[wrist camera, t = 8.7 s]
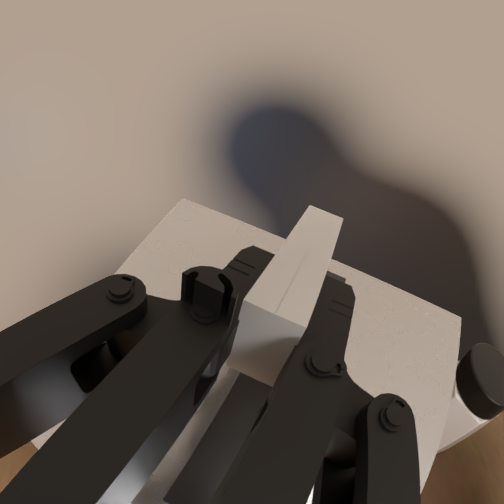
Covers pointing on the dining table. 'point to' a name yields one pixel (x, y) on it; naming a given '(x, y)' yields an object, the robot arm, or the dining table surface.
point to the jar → (474, 394)
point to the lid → (255, 392)
